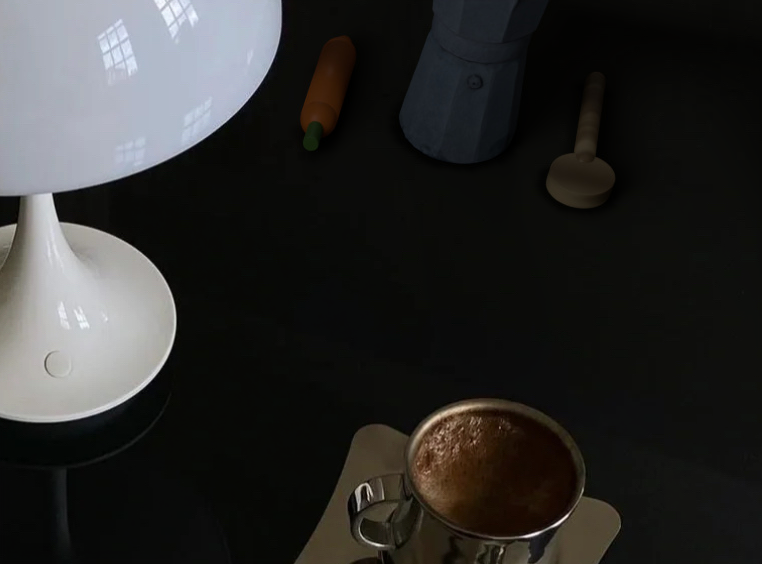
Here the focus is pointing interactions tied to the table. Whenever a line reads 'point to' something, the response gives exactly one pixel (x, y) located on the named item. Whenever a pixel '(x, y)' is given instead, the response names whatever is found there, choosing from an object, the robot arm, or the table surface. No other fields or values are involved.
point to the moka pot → (470, 79)
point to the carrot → (327, 90)
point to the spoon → (584, 156)
